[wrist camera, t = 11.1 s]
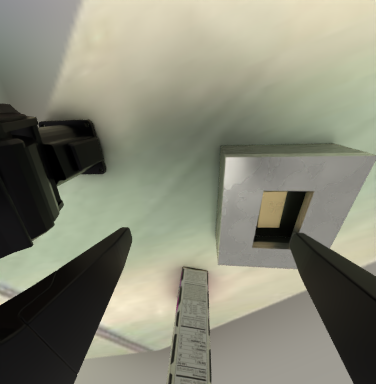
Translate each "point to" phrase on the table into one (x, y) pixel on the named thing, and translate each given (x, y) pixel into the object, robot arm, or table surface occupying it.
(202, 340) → the candy bar box
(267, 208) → the tan wooden post
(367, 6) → the table surface
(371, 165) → the money box
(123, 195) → the table surface
